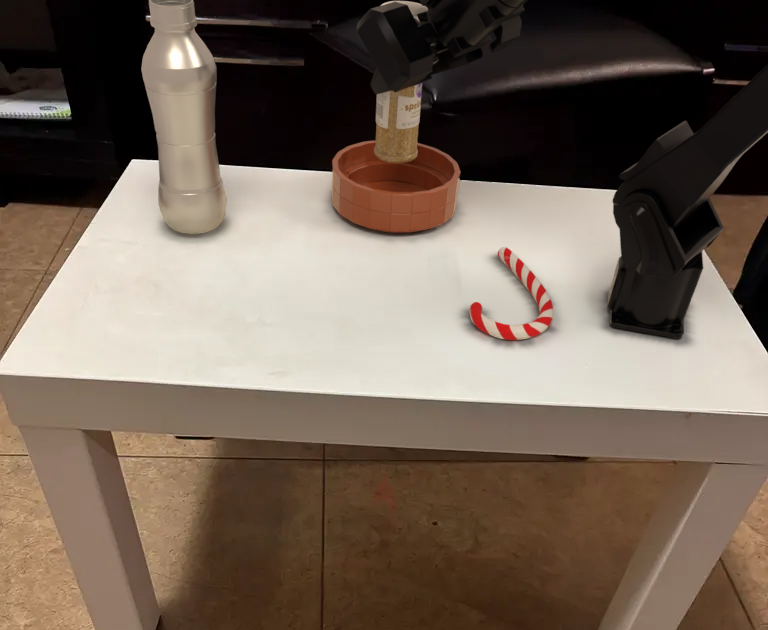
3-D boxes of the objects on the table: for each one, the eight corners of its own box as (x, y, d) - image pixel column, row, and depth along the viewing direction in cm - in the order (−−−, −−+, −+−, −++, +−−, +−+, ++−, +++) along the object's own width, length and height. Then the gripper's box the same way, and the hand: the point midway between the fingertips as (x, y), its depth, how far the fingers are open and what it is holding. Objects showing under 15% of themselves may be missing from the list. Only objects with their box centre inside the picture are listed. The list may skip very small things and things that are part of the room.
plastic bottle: (148, 224, 83) (113, -3, 68) (202, 204, 86) (179, -16, 72) (188, 249, 80) (161, 17, 65) (242, 227, 83) (227, 2, 69)
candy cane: (537, 245, 82) (563, 331, 71) (534, 257, 83) (560, 344, 72) (459, 242, 81) (474, 328, 71) (457, 254, 82) (472, 341, 72)
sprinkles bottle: (416, 166, 82) (428, 15, 73) (371, 163, 82) (377, 10, 73) (418, 148, 86) (430, 0, 76) (374, 144, 86) (381, -3, 76)
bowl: (463, 191, 92) (469, 150, 89) (442, 246, 83) (447, 203, 80) (349, 172, 94) (351, 132, 90) (316, 225, 85) (316, 182, 81)
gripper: (514, -134, 71) (403, -14, 84) (380, -112, 60) (276, 23, 73) (574, -10, 74) (458, 89, 86) (456, 33, 63) (343, 139, 75)
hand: (388, 83), depth 80 cm, fingers closed on sprinkles bottle, 4 cm apart
